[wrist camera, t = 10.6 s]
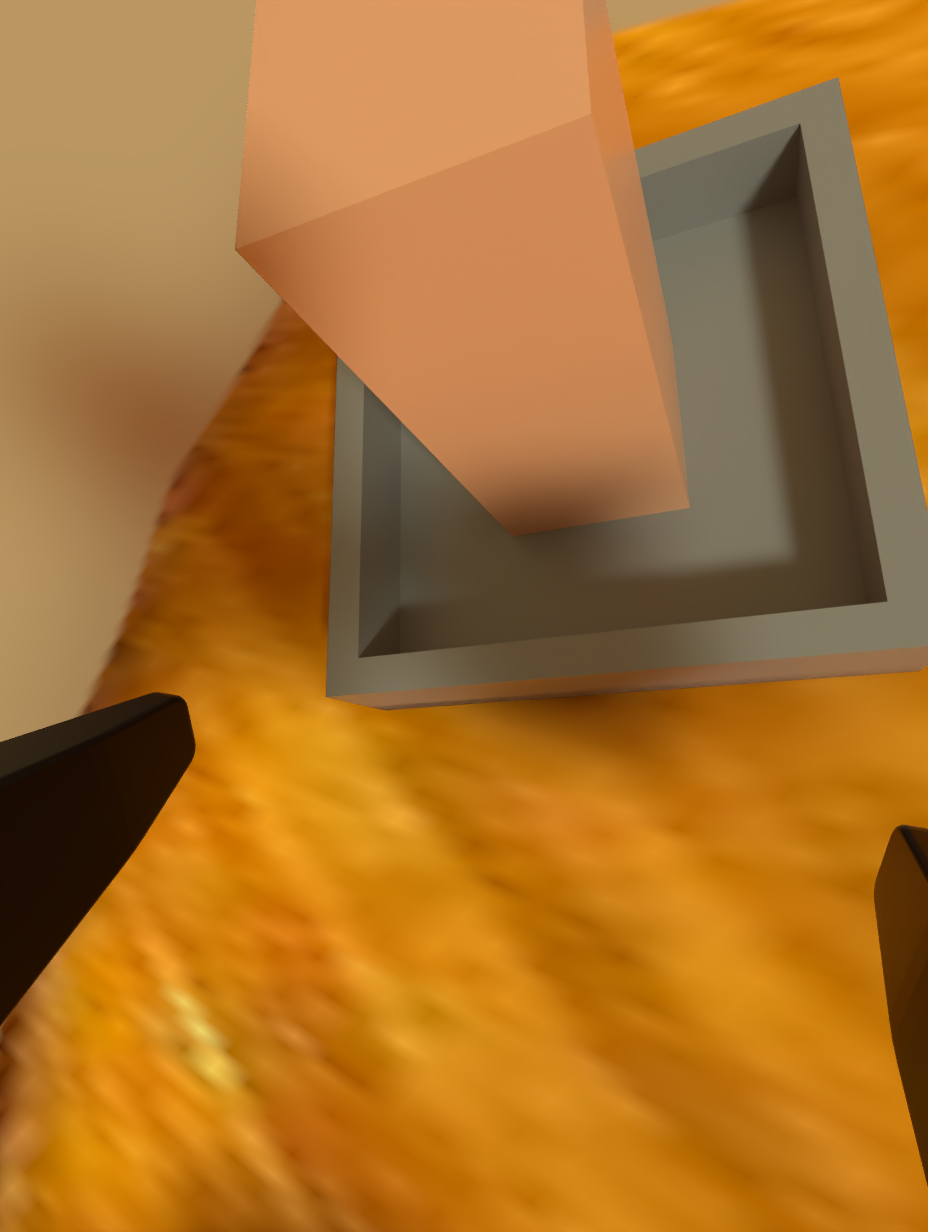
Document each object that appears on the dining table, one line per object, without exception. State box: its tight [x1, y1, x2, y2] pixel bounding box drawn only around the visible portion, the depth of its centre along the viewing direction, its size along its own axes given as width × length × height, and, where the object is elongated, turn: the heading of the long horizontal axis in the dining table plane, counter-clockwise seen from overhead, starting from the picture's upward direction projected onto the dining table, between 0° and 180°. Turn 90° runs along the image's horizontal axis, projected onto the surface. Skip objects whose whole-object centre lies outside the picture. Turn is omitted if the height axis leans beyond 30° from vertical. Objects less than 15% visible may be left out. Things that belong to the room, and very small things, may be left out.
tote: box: [326, 77, 928, 710], centre depth 18 cm, size 13×13×3 cm
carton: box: [235, 0, 690, 536], centre depth 13 cm, size 5×5×11 cm
